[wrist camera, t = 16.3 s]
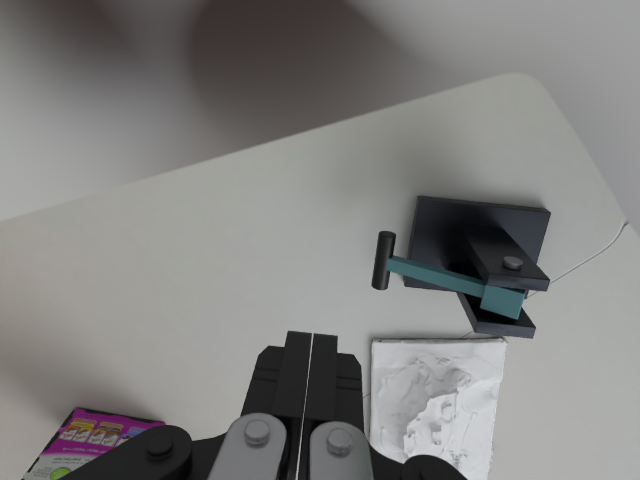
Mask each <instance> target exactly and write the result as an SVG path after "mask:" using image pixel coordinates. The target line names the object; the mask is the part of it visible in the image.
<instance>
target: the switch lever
mask: <svg viewBox="0 0 640 480" xmlns="http://www.w3.org/2000/svg"><path fill="white" fill-rule="evenodd" d="M395 239H396V234H395V233H393V232H389V231H381V232H379V236H378V243H377V250H376V257H375V264H374V271H373V278H372V287H373V288H375V289H377V290H386V289H387V288H388V283H389V276H390V271H392V272H395V273H398V274H402V275H405V276H409V277H412V278H415V279H419V280H422V281H426V282H429V283H432V284H436V285H439V286H442V287H446V288H449V289H453V290H456V291H459V292H463V293H466V294H470V295H473V296H476V297H480V298H482V301H481V305H480V308H481V309H484V310H488V311H491V312H494V313H497V314H501V315H504V316H507V317H511V318H514V319H518V317H519V314H520V310H521V307H522V303H523V300H524V296H525V293H526V289H517V288H507V287H497V286H488V285H486V284H485V282H484V281H483V280H480V279H476V278H473V277H469V276H466V275H462V274H458V273H455V272H451V271H448V270H444V269H441V268H437V267H433V266H430V265H426V264H423V263H419V262H415V261H412V260H408V259H405V258H401V257H398V256H394V255H393V251H394V245H395Z"/></svg>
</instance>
